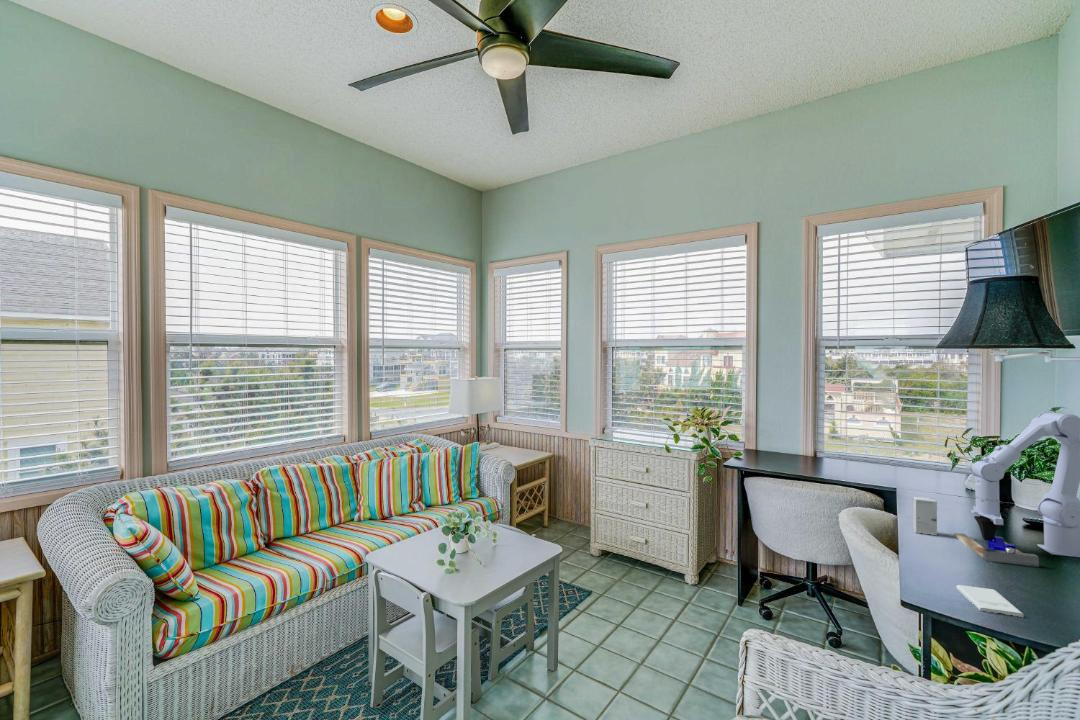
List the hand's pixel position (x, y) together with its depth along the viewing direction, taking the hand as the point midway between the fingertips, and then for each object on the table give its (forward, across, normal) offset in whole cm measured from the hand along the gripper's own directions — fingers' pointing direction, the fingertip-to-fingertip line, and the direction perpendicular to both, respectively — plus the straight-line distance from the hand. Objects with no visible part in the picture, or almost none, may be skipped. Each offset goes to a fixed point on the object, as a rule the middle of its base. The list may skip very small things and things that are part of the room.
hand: (988, 540), depth 154 cm
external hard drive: (+3, +45, -18) cm, 49 cm away
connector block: (+2, +13, 0) cm, 13 cm away
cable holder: (+2, +5, +1) cm, 6 cm away
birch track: (+2, +2, 0) cm, 3 cm away
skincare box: (+2, -9, -14) cm, 17 cm away
